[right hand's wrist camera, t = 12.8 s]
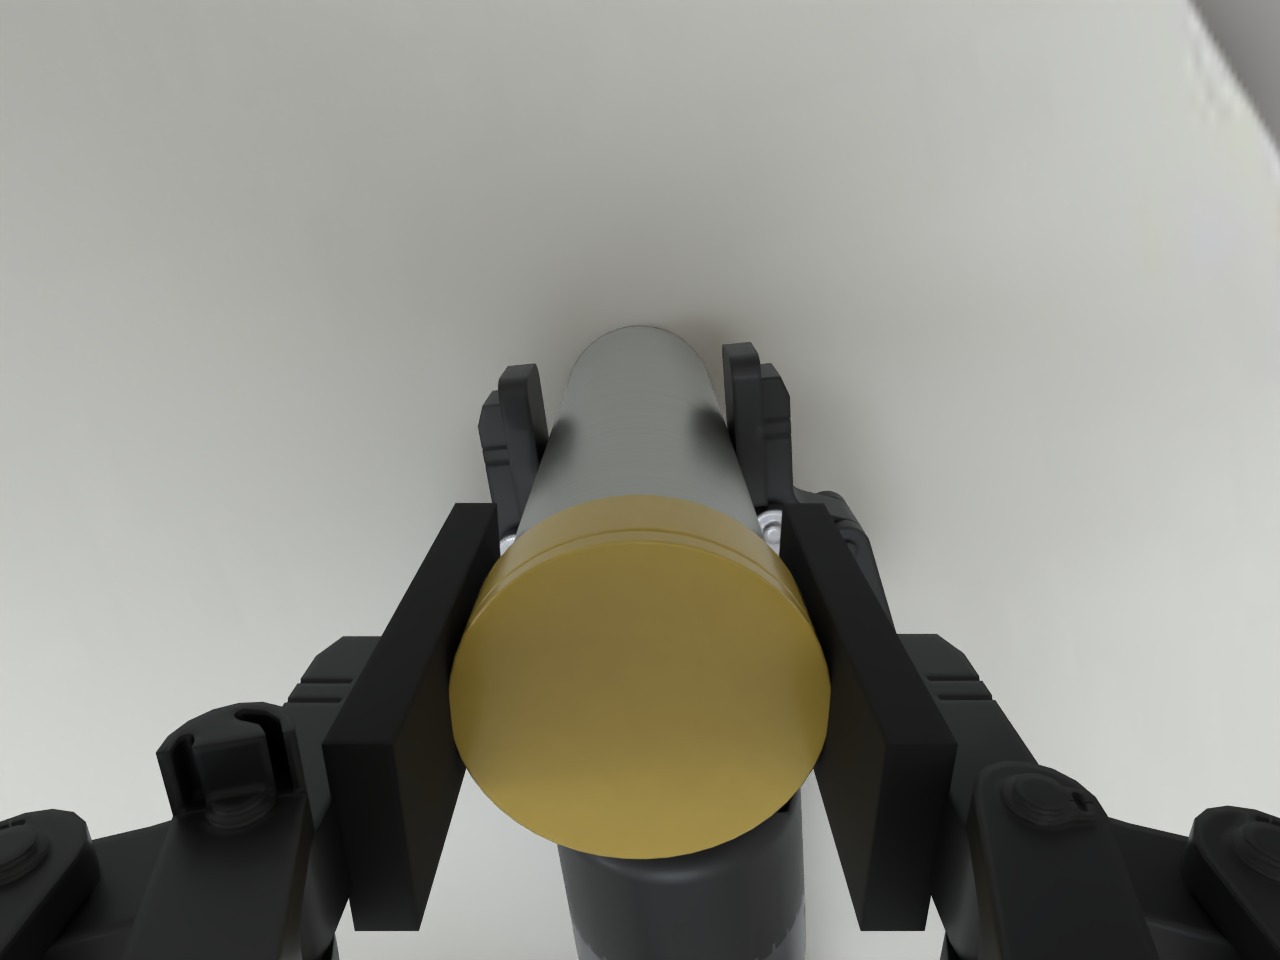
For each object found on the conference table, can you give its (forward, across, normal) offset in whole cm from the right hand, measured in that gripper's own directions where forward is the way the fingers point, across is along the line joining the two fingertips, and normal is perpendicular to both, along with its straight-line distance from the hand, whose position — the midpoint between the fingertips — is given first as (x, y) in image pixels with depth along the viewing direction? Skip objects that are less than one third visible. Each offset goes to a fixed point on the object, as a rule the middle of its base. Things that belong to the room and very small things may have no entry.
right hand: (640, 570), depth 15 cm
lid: (-4, 0, 0) cm, 4 cm away
